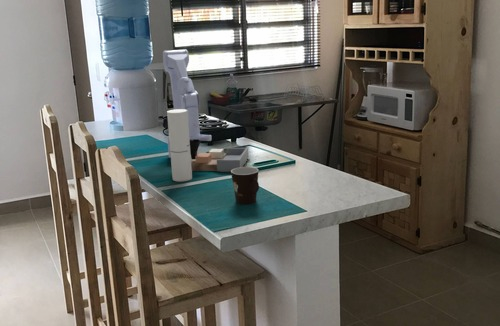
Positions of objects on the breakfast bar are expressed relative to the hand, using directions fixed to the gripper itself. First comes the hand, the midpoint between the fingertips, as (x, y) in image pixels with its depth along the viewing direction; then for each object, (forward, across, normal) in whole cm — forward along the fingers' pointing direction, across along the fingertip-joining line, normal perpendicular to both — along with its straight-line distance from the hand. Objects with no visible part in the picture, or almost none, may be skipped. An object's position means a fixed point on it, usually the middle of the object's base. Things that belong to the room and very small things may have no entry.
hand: (194, 158), depth 209 cm
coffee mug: (+4, +27, -38) cm, 47 cm away
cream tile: (+1, +7, +7) cm, 10 cm away
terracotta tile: (+1, +4, 0) cm, 4 cm away
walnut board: (+3, +4, +4) cm, 7 cm away
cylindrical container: (+4, -1, -14) cm, 15 cm away
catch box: (+3, +14, +4) cm, 15 cm away
